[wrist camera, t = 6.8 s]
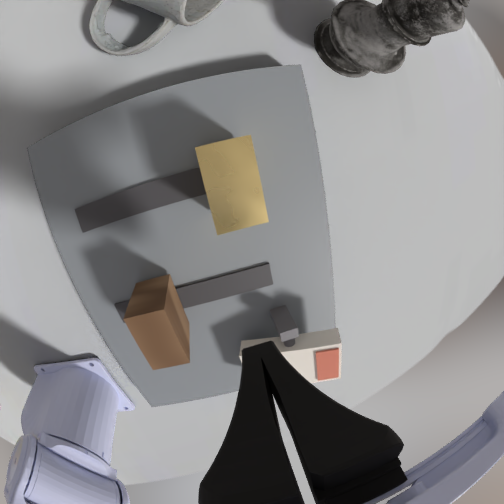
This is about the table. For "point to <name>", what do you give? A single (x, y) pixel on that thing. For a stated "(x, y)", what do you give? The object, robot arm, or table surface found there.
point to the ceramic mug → (162, 3)
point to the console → (193, 222)
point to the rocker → (309, 353)
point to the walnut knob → (159, 323)
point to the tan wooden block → (232, 184)
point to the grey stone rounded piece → (382, 32)
